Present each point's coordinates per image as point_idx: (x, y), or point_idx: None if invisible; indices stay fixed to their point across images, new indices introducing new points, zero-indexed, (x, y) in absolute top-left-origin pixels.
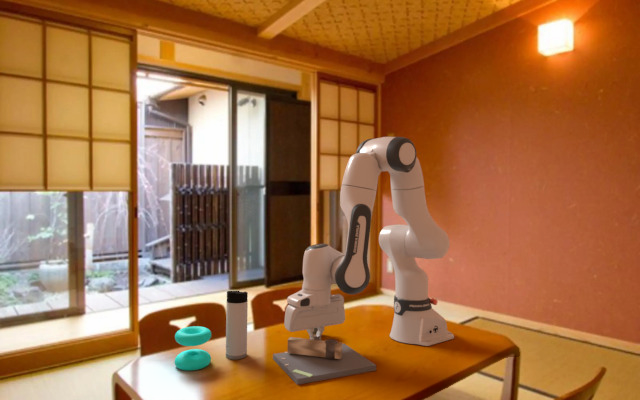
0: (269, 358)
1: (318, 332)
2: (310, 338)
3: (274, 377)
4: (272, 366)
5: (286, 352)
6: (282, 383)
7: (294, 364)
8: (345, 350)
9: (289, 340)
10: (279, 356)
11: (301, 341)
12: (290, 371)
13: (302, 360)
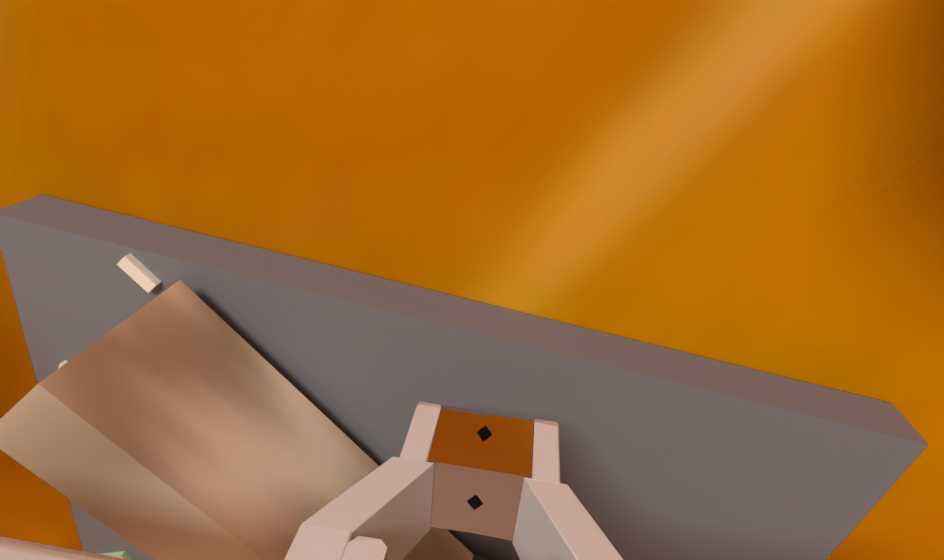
0: (9, 155)
1: (538, 547)
2: (410, 437)
3: (12, 462)
4: (18, 326)
5: (138, 280)
6: (49, 534)
7: None
8: (726, 555)
9: (17, 444)
10: (51, 306)
11: (159, 557)
12: (83, 546)
13: None
